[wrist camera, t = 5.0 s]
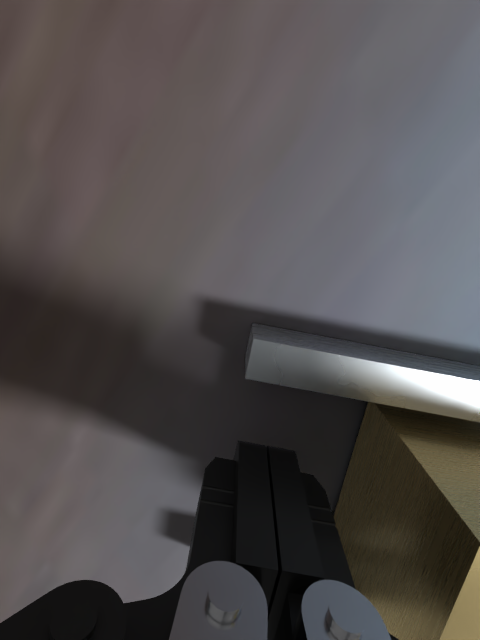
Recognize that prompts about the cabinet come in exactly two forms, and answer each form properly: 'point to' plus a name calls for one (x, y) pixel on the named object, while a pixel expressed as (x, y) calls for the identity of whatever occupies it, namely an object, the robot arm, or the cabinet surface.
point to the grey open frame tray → (363, 372)
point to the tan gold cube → (415, 521)
